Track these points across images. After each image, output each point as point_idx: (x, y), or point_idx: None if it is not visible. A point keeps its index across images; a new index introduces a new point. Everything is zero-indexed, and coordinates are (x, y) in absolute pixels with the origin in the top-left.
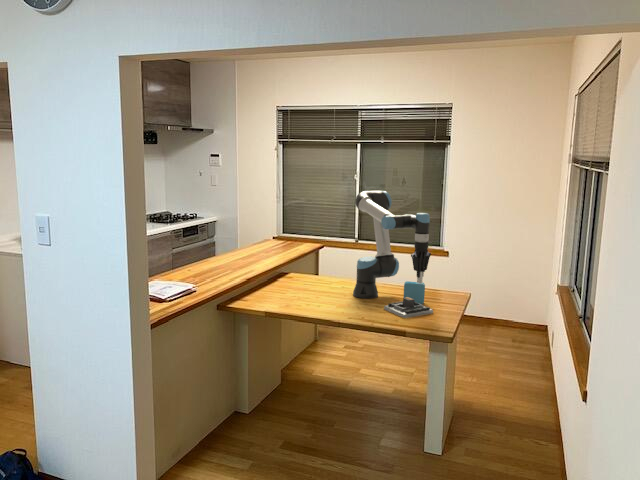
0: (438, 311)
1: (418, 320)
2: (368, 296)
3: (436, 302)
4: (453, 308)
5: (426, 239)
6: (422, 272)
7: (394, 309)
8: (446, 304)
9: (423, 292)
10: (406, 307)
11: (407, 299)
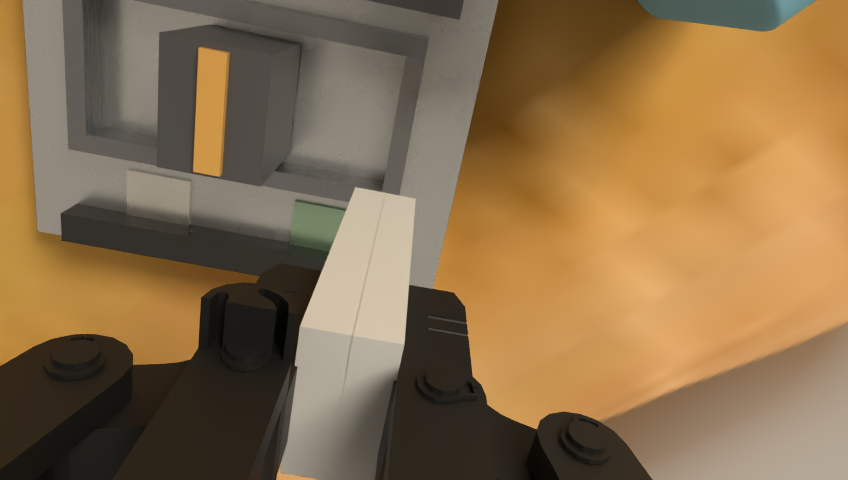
0: (525, 283)
1: (145, 328)
2: None
3: (833, 67)
4: (730, 313)
5: None
6: (362, 468)
7: (47, 30)
8: (827, 190)
9: (703, 12)
10: (144, 151)
11: (166, 127)
